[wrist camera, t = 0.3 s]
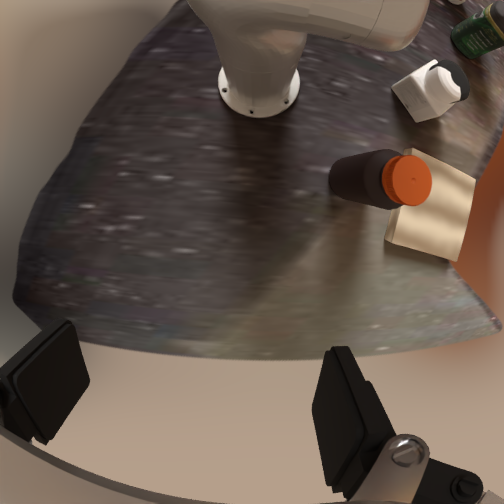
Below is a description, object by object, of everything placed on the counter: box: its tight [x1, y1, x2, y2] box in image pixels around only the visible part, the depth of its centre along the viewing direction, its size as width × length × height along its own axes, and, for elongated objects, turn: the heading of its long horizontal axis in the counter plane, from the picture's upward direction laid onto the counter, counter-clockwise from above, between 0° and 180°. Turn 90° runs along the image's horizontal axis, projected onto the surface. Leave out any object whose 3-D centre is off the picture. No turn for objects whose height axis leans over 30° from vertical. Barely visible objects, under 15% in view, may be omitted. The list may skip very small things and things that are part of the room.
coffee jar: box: [451, 1, 504, 59], centre depth 23 cm, size 10×8×19 cm
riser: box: [384, 148, 476, 261], centre depth 41 cm, size 16×16×3 cm
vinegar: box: [329, 149, 432, 210], centre depth 32 cm, size 7×7×20 cm
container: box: [391, 60, 470, 123], centre depth 31 cm, size 8×8×13 cm
